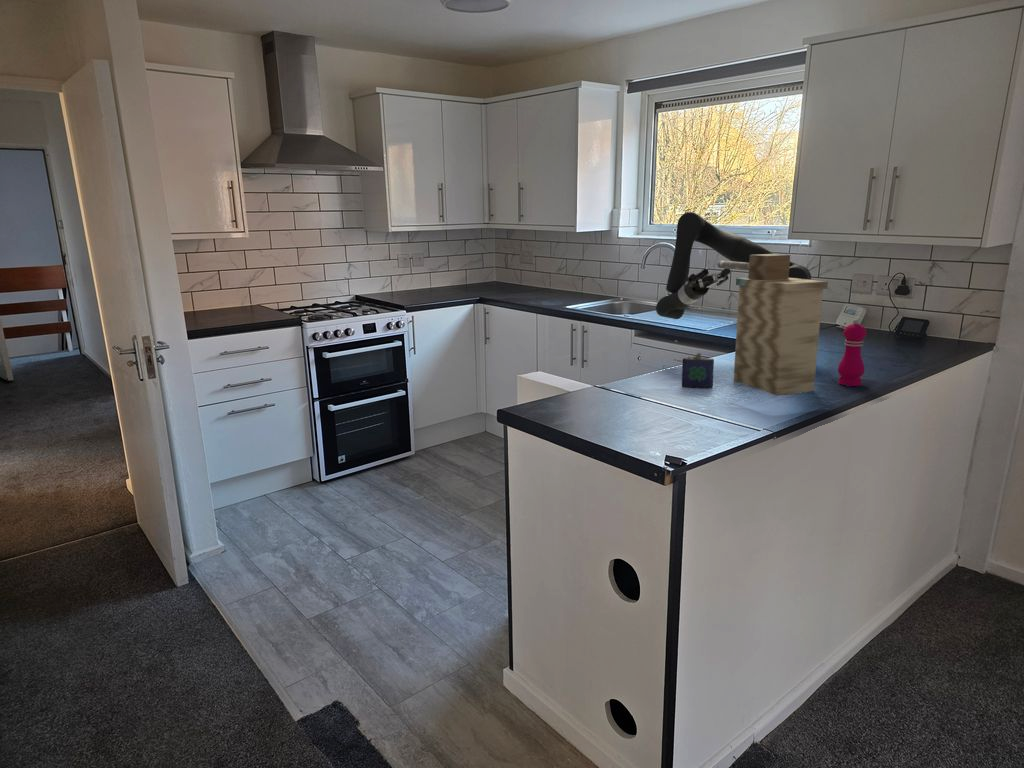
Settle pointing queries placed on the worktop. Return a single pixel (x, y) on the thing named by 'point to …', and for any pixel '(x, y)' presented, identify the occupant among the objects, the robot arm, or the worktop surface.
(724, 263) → the wooden mallet
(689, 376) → the flask
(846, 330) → the pepper mill
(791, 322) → the stand
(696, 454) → the worktop surface
